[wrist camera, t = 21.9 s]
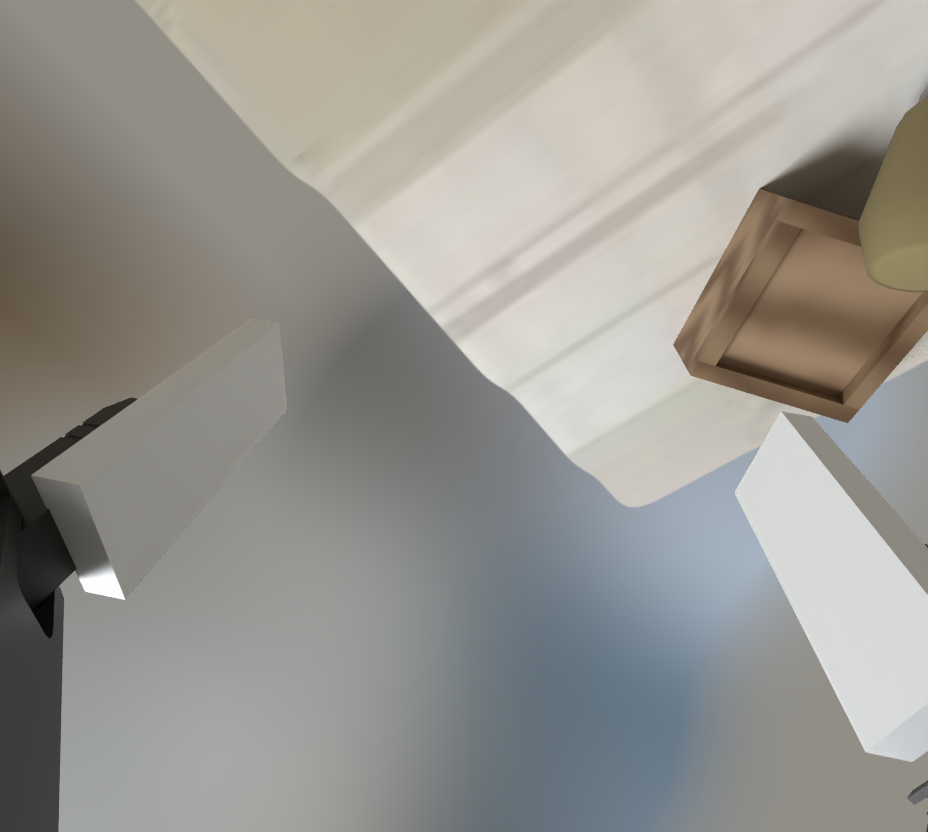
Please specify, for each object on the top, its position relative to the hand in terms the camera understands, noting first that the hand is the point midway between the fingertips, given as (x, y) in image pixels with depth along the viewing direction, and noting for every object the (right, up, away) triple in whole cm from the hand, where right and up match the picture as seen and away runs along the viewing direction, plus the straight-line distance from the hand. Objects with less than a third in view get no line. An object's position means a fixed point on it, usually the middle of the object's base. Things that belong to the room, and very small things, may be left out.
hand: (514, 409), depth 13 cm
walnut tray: (+29, +11, +33) cm, 45 cm away
